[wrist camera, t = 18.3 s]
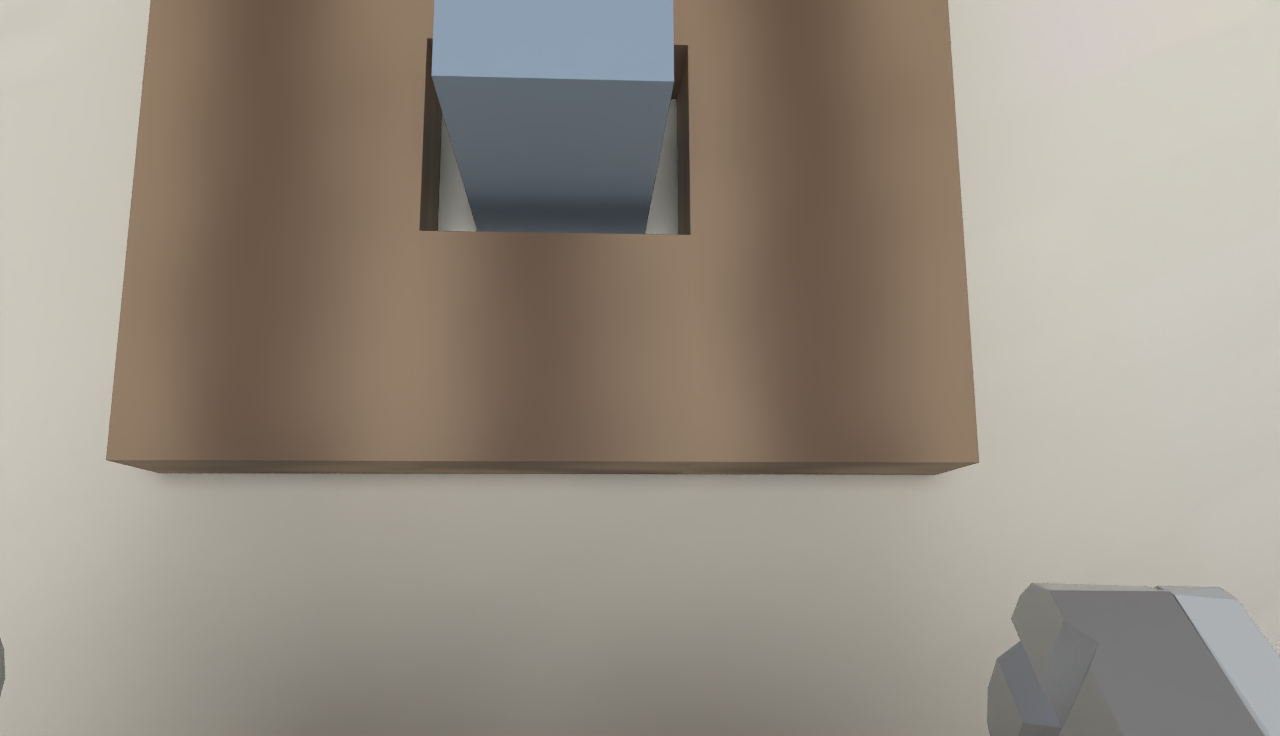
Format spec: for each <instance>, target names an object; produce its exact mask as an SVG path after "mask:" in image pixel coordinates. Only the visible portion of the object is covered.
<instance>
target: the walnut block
mask: <svg viewBox="0 0 1280 736" xmlns="http://www.w3.org/2000/svg"><path fill="white" fill-rule="evenodd" d="M433 24H434V0H151V4H150V14H149V24H148V35H147V45H146V55H145V65H144V76H143V86H142V96H141V107H140V117H139V127H138V137H137V148H136V158H135V168H134V179H133V189H132V199H131V209H130V220H129V230H128V240H127V250H126V261H125V271H124V281H123V292H122V302H121V312H120V322H119V333H118V343H117V353H116V364H115V374H114V384H113V394H112V405H111V415H110V425H109V435H108V446H107V456H106V460H108V461H112V462H116V463H120V464H124V465H128V466H132V467H136V468H141V469H145V470H149V471H153V472H157V473H403V474H896V475H936V474H940V473H943V472H947V471H950V470H954V469H958V468H961V467H965V466H968V465H972V464H975V463H979V455H978V440H977V426H976V411H975V396H974V381H973V366H972V352H971V337H970V322H969V307H968V292H967V278H966V263H965V248H964V233H963V218H962V204H961V189H960V174H959V159H958V144H957V130H956V115H955V100H954V85H953V70H952V56H951V41H950V26H949V11H948V0H673V25H674V84H673V90H672V95H671V98H672V99H677V147H678V235H664V234H599V233H534V232H469V231H438V204H439V176H440V149H441V121H442V110H441V106H440V103H439V99H438V96H437V93H436V89H435V86H434V82H433V79H432V76H431V75H432V49H433Z"/></svg>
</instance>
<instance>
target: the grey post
mask: <svg viewBox="0 0 1280 736" xmlns="http://www.w3.org/2000/svg"><path fill="white" fill-rule="evenodd" d="M431 76H432V79H433V82H434V86H435V89H436V93H437V96H438V99H439V103H440V106H441V110H442V113H443V116H444V120H445V123H446V126H447V130H448V133H449V137H450V140H451V143H452V147H453V150H454V154H455V157H456V160H457V164H458V167H459V170H460V174H461V177H462V181H463V184H464V187H465V191H466V194H467V197H468V201H469V204H470V208H471V211H472V214H473V218H474V221H475V225H476V228H477V231H478V232H534V233H599V234H645V230H646V225H647V219H648V214H649V209H650V204H651V199H652V193H653V188H654V183H655V178H656V173H657V167H658V162H659V157H660V152H661V147H662V141H663V136H664V131H665V126H666V121H667V116H668V110H669V105H670V100H671V95H672V90H673V84H674V25H673V0H434V24H433V49H432V75H431Z"/></svg>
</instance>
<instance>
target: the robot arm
mask: <svg viewBox="0 0 1280 736" xmlns="http://www.w3.org/2000/svg"><path fill="white" fill-rule="evenodd" d="M1011 620H1012V622H1013V624H1014V626H1015V629H1016V631H1017V633H1018V636H1019V638H1020V640H1021V641H1020V642H1019V643H1017V644H1016V645H1015V646H1013V647H1012V648H1011V649H1009V650H1008V651H1007V652H1005V653H1004V654H1003V655H1001V656H1000V657H999V658H997V660H996V664H995V667H994V670H993V674H992V677H991V680H990V683H989V687H988V710H987V723H988V728H989V734H990V736H1280V657H1279V655H1278V654H1277V653H1276V651H1275V650H1274V649H1273V647H1272V646H1271V644H1270V643H1269V642H1268V640H1267V639H1266V637H1265V636H1264V635H1263V633H1262V632H1261V631H1260V629H1259V628H1258V626H1257V625H1256V624H1255V622H1254V621H1253V620H1252V618H1251V617H1250V615H1249V614H1248V613H1247V611H1246V610H1245V609H1244V607H1243V606H1242V604H1241V603H1240V602H1239V600H1238V599H1237V598H1235V597H1234V596H1233V595H1231V594H1230V593H1228V592H1227V591H1225V590H1224V589H1222V588H1220V587H1184V586H1156V587H1154V588H1152V587H1147V586H1117V585H1082V584H1048V583H1031V584H1030V585H1029V586H1028V588H1027V589H1026V590H1025V591H1024V592H1023V593H1022V594H1021V595H1020V597H1019V600H1018V602H1017V605H1016V608H1015V610H1014V613H1013V616H1012V618H1011ZM4 681H5V661H4V648H3V645H2V642H1V638H0V695H1V691H2V688H3V684H4Z"/></svg>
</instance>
